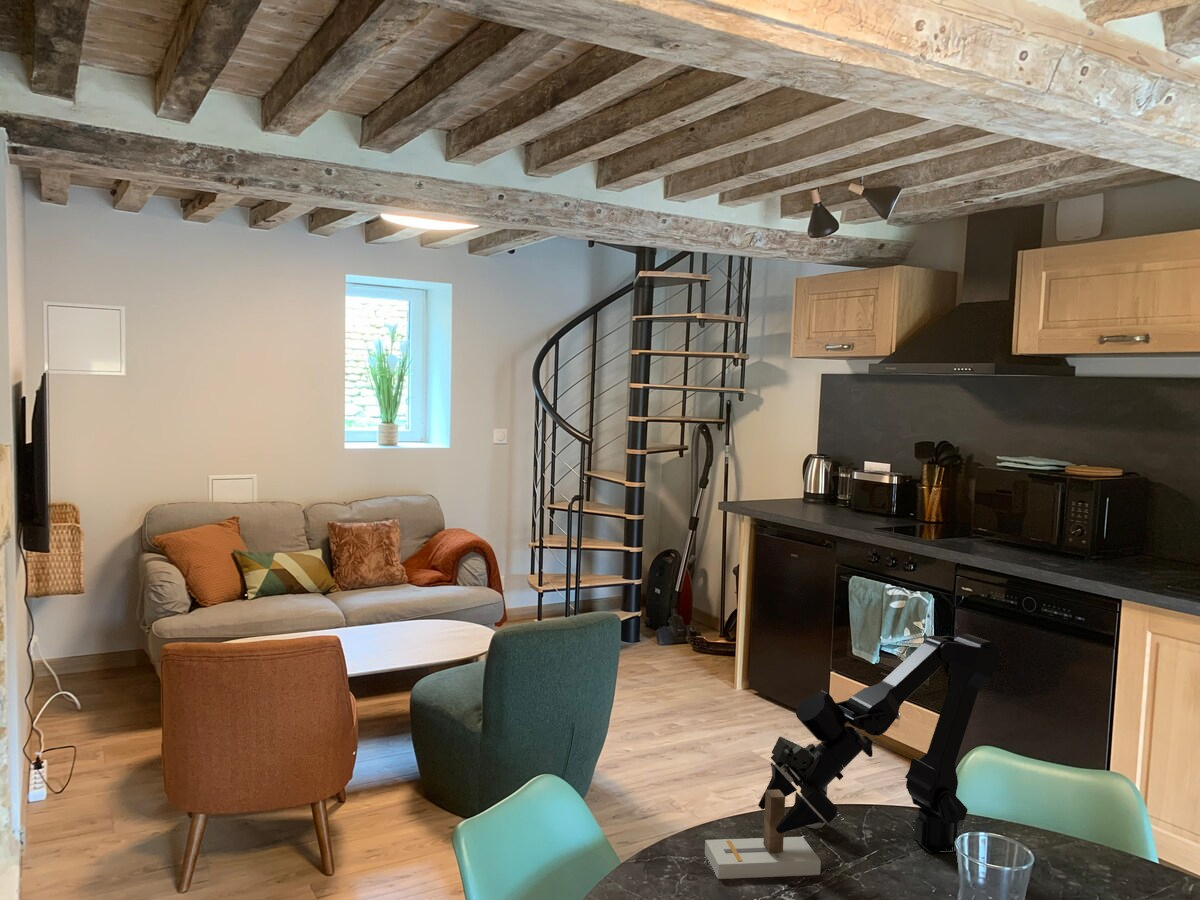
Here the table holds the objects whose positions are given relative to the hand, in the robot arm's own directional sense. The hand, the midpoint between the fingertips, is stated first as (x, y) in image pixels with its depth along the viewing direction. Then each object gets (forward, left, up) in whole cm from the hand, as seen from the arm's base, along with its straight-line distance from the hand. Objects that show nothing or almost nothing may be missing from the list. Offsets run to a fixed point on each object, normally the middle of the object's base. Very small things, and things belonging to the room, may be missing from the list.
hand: (768, 819), depth 156 cm
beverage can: (-14, -14, -8) cm, 22 cm away
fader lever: (-1, 0, -5) cm, 5 cm away
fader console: (+1, 0, -8) cm, 8 cm away
